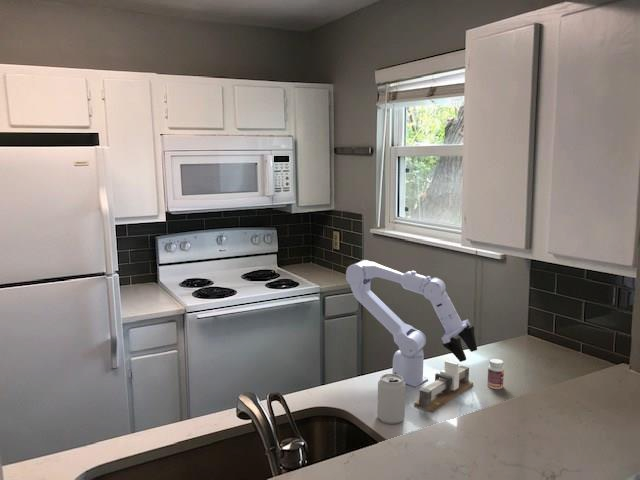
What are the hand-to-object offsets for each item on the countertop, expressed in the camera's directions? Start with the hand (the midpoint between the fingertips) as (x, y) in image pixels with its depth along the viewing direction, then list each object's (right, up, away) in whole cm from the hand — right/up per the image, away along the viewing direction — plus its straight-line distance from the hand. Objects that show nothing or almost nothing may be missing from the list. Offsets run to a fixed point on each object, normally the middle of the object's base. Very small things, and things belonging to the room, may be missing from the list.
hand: (468, 355), depth 162 cm
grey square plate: (-9, -10, -2) cm, 13 cm away
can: (-26, -14, -16) cm, 34 cm away
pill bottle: (+10, -11, +5) cm, 16 cm away
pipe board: (-8, -12, -1) cm, 14 cm away
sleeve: (-6, -10, +1) cm, 11 cm away
